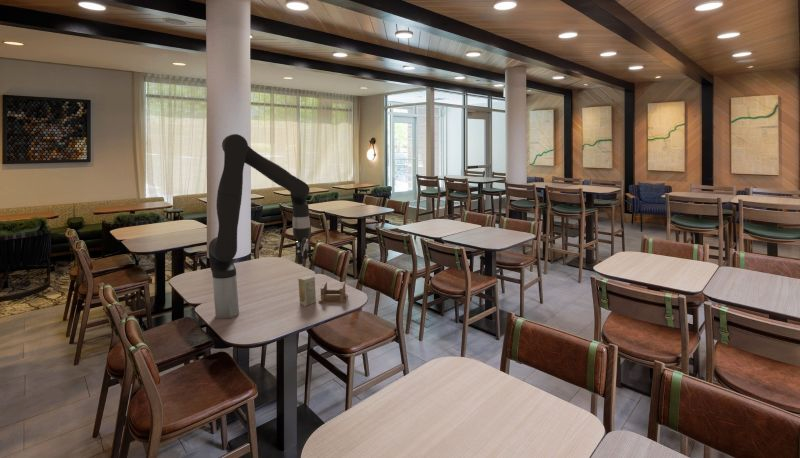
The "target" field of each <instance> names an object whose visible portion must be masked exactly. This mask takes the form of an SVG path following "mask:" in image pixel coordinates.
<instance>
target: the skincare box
mask: <svg viewBox="0 0 800 458" xmlns="http://www.w3.org/2000/svg"><path fill="white" fill-rule="evenodd" d="M316 293H317V292H316V276H313V275H310V274H308V275H305V276H302V277H299V278H298V294H299V295H298V296H299V304H300V305H303V306H305V307H307V306H309V305H311V304H313V303H316V302H317V297H316Z"/></svg>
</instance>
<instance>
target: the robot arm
mask: <svg viewBox="0 0 800 458" xmlns="http://www.w3.org/2000/svg"><path fill="white" fill-rule="evenodd" d="M221 148H222V150H223V152H224V156H223V157H224V159H223V160H224V161H223V162H224V163H223V170H222V174H221V176H220V180H219V183H218V188H217V195H216V215H217V220H218V232H217V236H216V237H214V238H212V240H211V241H210V242H209V245H208V258H209V267H210V271H211V274H212V286H213V298H214V299H213V301H214V313H215V319H222V320H223V319H232V318H234V317H237V316H238V315H239V313H240V308H239V307H240V306H239V305H240V304H239V295H238V292H239V291H238V278H237V277H238V276H237V268H236V266H235V264H234V258H235V257H236V255H237V252H238V226H239V220H240V211H241V205H242V197H243V185H244V183H243V182H244V181H243V180H244V167H245V164H246V165H248V166H250V167H251V168H252V169H255V171H257V172H259V174H261V175H263V176H264V177H266V178H267V179H268V180H270V181H271V182H274V183H275V184H277V185H278V186H280V187H282V188H284V189H285V190H287V191H288V192H290V193H289V194H290V199H291V204H292V236H293V238H296V239H297V241H296V242H295V246H294V247H295V256H296V257H297V264H298V265H303V264H304V260H308V258H309V255H308V254H309V253H308V252H309V248H310V244H309V237H311V220H310V210H309V204H308V201H307V197H308V195H309V194H310V187H309V185H308V184H307V182H305V181H304V180H302V179H300V178H298V177H297V176H295V175H293V174H292V173H291V172H289V171H288V170H287V169H285V168H284V167H282V166H280V165H279V164H277V163H275V162H274V161H272V160H271V159H268V158H267V157H265V156H263V155H261V154H259V153H258V152H257V151H256V150H254V149H253V148H252V147H250V146H249V144H248V141H247V139H246V138H245V137H244V136H243V135H241V134H239V133H233V134H229V135H227V136H226V137H225V138H224V139H222V144H221Z"/></svg>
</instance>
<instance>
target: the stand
mask: <svg viewBox="0 0 800 458" xmlns="http://www.w3.org/2000/svg"><path fill="white" fill-rule="evenodd" d="M348 296H349V295H348V293H346V281H342V282H341V285H340V287H339V289H328V282H327V281H323V284H322V286H321V287H320V298H319V300H318V304H346V301H347V298H348Z"/></svg>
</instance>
